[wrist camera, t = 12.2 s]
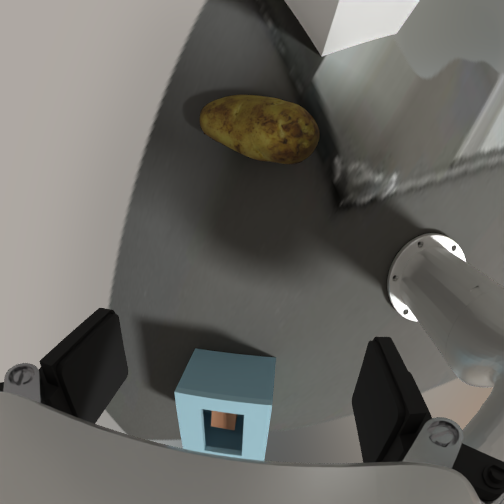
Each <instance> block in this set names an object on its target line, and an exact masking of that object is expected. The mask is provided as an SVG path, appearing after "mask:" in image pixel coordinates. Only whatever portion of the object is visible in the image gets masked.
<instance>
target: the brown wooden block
mask: <svg viewBox="0 0 504 504" xmlns="http://www.w3.org/2000/svg"><path fill="white" fill-rule="evenodd" d="M237 416H238V414H232V413H225V412H218V411H212V417H211V426H213V427H218V428H223V429H229V430H235V425H236V420H237Z"/></svg>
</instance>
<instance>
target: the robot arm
mask: <svg viewBox="0 0 504 504" xmlns="http://www.w3.org/2000/svg"><path fill="white" fill-rule="evenodd" d="M418 242H419V244H418ZM394 275H395V277H393V276H394ZM387 290H388V296H389V299H390V302H391V303H392V305H393V307H394V308H395V309H396V311H397V312H398V313H399V314H400V315H401V316H402V317H404V318H406V319H408V320H412V321H416V322H419V323H420V324H421V326H422V327H423V329H424V330H425V331H426V333H427V334H428V335H429V337H430V338H431V340H432V341H433V343H434V344H435V345H436V347H437V348H438V350H439V351H440V353H441V354H442V356H443V357H444V359H445V360H446V362H447V363H448V365H449V366H450V367H451V369H452V370H453V372H454V373H455V375H456V376H457V377H458V378H459V379H460V380H461V381H463V382H465V383H466V384H469V385H471V386H476V387H493V390H492V392H491V394H490V396H489V397H488V398H487V400H486V401H485V403H484V404H483V405H482V407H481V408H480V410H479V411H478V413H477V414H476V415H475V416H474V417H473V419H472V420H471V421H470V422H469V423H468V424H467V426H466V427H465V428H464V429H463V430H462V429H461V428H460V426H459V425H458V424H457V423H456V422H454V421H452V420H450V419H447V418H440V417H437V418H432V417H431V415H430V412H429V410H428V408H427V406H426V404H425V402H424V400H423V397H422V395H421V393H420V391H419V389H418V387H417V385H416V383H415V381H414V379H413V377H412V375H411V373H410V372H408V370H407V368H406V366H405V364H404V362H403V360H402V358H401V356H400V354H399V352H398V351H397V349H396V347H395V345H394V343H393V341H392V339H391V338H390V337H375V338H374V340H373V341H369V343H368V346H367V350H366V353H365V357H364V360H363V364H362V367H361V371H360V374H359V377H358V381H357V384H356V387H355V390H354V393H353V397H352V407H353V411H354V416H355V421H356V425H357V431H358V436H359V442H360V446H361V451H362V457H363V463H346V464H345V463H343V464H321V463H288V462H273V461H261V460H252V459H243V458H235V457H228V456H221V455H215V454H209V453H203V452H197V451H192V450H187V449H182V448H178V447H173V446H169V445H165V444H160V443H156V442H153V441H149V440H145V439H141V438H138V437H134V436H131V435H127V434H124V433H121V432H117V431H114V430H111V429H108V428H105V427H102V426H99V425H96V424H95V423H96V421H97V420H98V418H99V417H100V416H101V414H102V413H103V411H104V410H105V408H106V407H107V405H108V404H109V402H110V401H111V399H112V398H113V397H114V395H115V394H116V392H117V391H118V389H119V388H120V386H121V385H122V384H123V382H124V381H125V379H126V378H127V375H128V366H127V361H126V356H125V351H124V346H123V340H122V334H121V328H120V322H119V317H118V315H117V314H115V312H114V311H113V310H110V309H104V308H99V309H98V310H96V311H95V312H94V313H93V314H92V315H91V316H89V318H87V319H86V320H85V321H84V322H83V323H81V324H80V325H79V326H78V327H77V328H76V329H75V330H73V331H72V332H71V333H70V334H69V335H68V336H67V337H66V338H64V339H63V340H62V341H61V342H60V343H59V344H58V345H57V346H56V347H55V348H53V349H52V350H51V351H50V352H49V353H48V354H47V355H46V356H45V357H44V358H42V359H41V360H40V364H41V368H40V369H39V370H38V368H37V367H36V366H35V365H33V364H28V363H22V364H18V365H15V366H13V367H12V368H10V369H9V370H8V372H7V373H6V375H5V379H4V382H2V383H0V504H504V287H502V286H501V285H499V284H498V283H497V282H495V281H494V280H492V279H491V278H489V277H488V276H487V275H485V274H484V273H482V272H481V271H479V270H478V269H476V268H475V267H473V266H472V265H470V264H469V263H467V262H466V260H465V256H464V254H463V251H462V249H461V248H460V247H459V245H458V244H457V243H456V242H455V241H454V240H452V239H451V238H449V237H447V236H445V235H442V234H437V233H429V234H424V235H421V236H418V237H416V238H414V239H412V240H411V241H409V242H408V243H407V244H406V245H405V246H403V248H402V249H401V250H400V251H399V252H398V254H397V255H396V257H395V258H394V260H393V262H392V265H391V267H390V269H389V274H388V278H387Z"/></svg>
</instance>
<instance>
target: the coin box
mask: <svg viewBox="0 0 504 504" xmlns="http://www.w3.org/2000/svg"><path fill="white" fill-rule="evenodd" d="M275 362H276V358H275V357H263V356H253V355H243V354H234V353H226V352H218V351H210V350H203V349H196V348H195V350H194V352H193V354H192V356H191V358H190V360H189V362H188V364H187V366H186V369H185V371H184V373H183V375H182V377H181V379H180V381H179V383H178V385H177V387H176V390H175V392H174V393H175V401H176V408H177V414H178V421H179V427H180V433H181V439H182V445H183V449H187V450H192V451H197V452H203V453H209V454H215V455H221V456H228V457H235V458H243V459H252V460H261V461H264V458H265V451H266V445H267V438H268V431H269V424H270V417H271V409H272V400H273V388H274V375H275ZM212 411H218V412H225V413H232V414H238V416H237V420H236V425H235V430H229V429H223V428H218V427H213V426H211V417H212Z"/></svg>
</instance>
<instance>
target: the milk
mask: <svg viewBox="0 0 504 504" xmlns="http://www.w3.org/2000/svg"><path fill="white" fill-rule="evenodd" d="M284 1H285V2H286V4H287V5H288V6H289V8H290V9H291V11H292V12H293V14H294V15H295V16H296V18H297V19H298V21H299V22H300V24H301V25H302V27H303V28H304V30H305V31H306V33H307V34H308V36H309V37H310V39H311V41H312V42H313V44H314V45H315V47H316V49H317V50H318V52H319V53H320V55H321V57H322V56H325V55H328V54H331V53H334V52H336V51H339V50H342V49H345V48H348V47H351V46H355V45H358V44H361V43H364V42H368V41H371V40H374V39H378V38H382V37H385V36H389V35H393V34H396V33H397V32H398V31H399V29H400V28H401V26H402V25H403V23H404V22H405V21H406V19H407V18H408V16H409V15H410V13H411V12H412V11H413V9H414V8H415V6H416V5H417V3H418V2H419V1H420V0H284Z"/></svg>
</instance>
